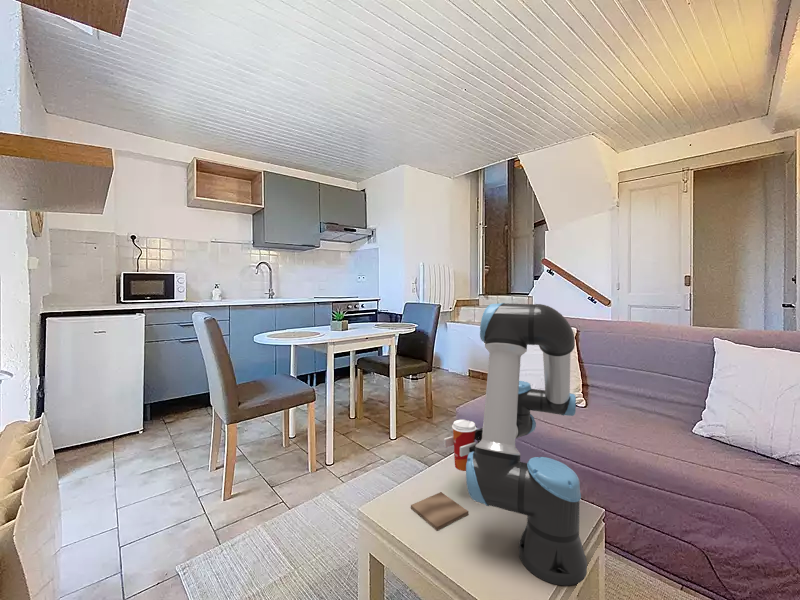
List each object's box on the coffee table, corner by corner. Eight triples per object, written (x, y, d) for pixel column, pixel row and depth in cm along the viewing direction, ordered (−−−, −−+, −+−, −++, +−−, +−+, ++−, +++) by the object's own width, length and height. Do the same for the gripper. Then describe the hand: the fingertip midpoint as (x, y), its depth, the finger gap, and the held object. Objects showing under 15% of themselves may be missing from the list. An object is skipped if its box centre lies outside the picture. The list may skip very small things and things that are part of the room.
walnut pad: (468, 514, 105) (468, 511, 105) (437, 530, 98) (437, 527, 98) (441, 494, 115) (441, 491, 115) (410, 508, 108) (410, 505, 108)
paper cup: (458, 458, 120) (458, 417, 120) (479, 465, 115) (480, 422, 115) (447, 468, 114) (447, 424, 113) (469, 475, 109) (470, 430, 109)
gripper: (525, 452, 117) (475, 472, 103) (479, 432, 133) (431, 447, 119) (525, 429, 116) (475, 446, 103) (480, 412, 132) (432, 425, 119)
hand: (452, 447), depth 111 cm, fingers closed on paper cup, 6 cm apart
